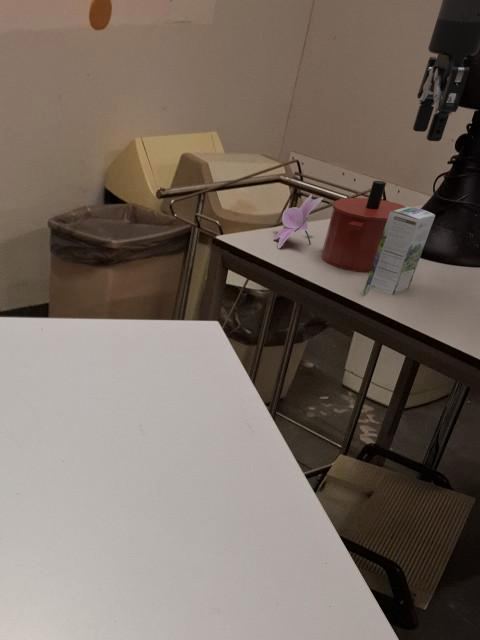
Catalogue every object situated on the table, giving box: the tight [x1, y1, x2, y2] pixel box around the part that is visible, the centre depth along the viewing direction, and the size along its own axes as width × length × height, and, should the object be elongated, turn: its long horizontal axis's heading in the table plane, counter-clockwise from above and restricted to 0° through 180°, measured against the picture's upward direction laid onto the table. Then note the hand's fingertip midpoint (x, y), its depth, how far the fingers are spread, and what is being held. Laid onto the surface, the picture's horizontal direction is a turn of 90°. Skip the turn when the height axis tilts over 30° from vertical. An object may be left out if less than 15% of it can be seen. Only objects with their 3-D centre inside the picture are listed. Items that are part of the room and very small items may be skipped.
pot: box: [321, 208, 387, 273], centre depth 167 cm, size 14×19×10 cm
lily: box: [272, 193, 324, 250], centre depth 175 cm, size 12×12×10 cm
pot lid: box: [332, 180, 406, 221], centre depth 162 cm, size 15×15×6 cm
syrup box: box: [362, 206, 436, 296], centre depth 150 cm, size 6×6×14 cm
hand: (425, 135), depth 141 cm, fingers open, 8 cm apart
